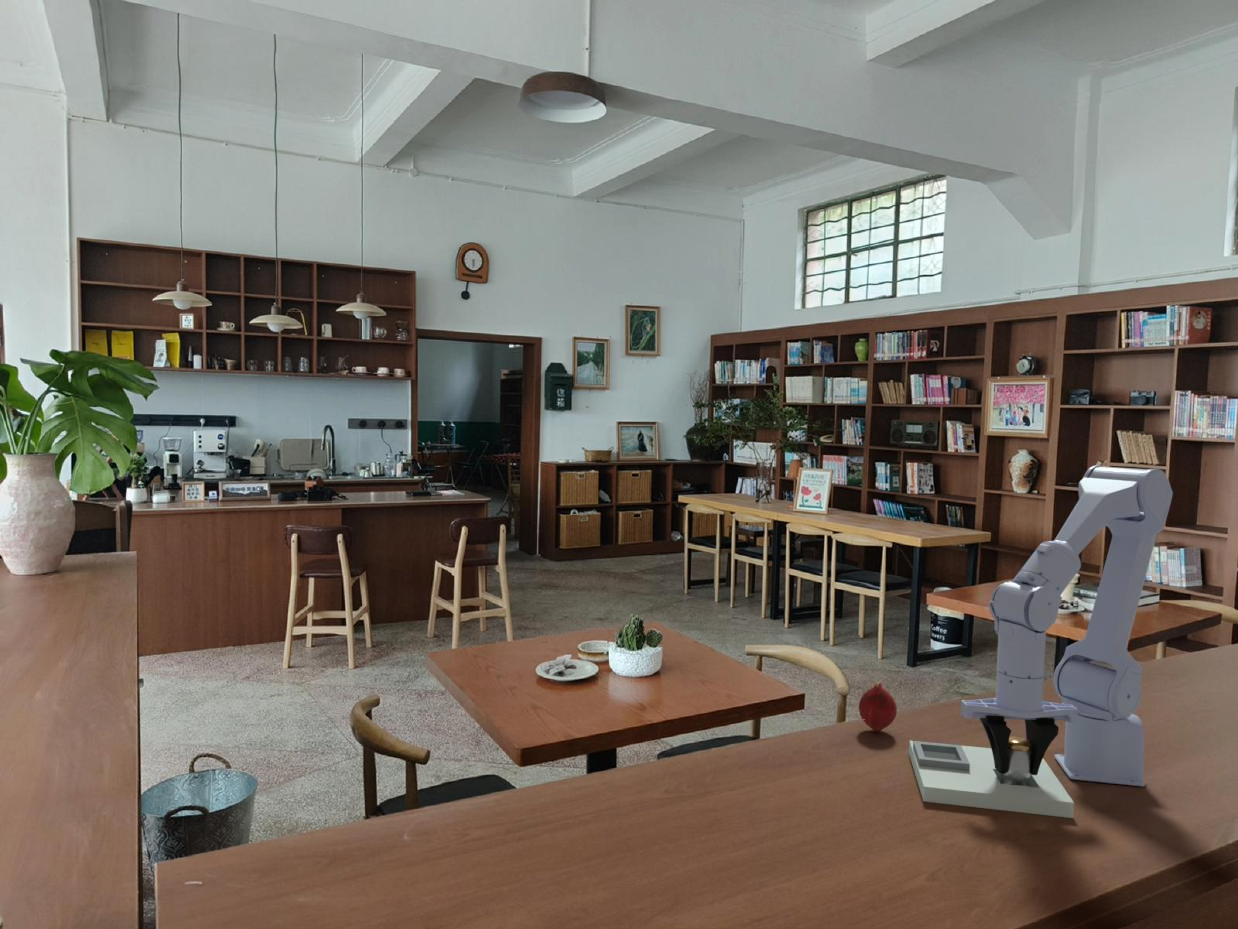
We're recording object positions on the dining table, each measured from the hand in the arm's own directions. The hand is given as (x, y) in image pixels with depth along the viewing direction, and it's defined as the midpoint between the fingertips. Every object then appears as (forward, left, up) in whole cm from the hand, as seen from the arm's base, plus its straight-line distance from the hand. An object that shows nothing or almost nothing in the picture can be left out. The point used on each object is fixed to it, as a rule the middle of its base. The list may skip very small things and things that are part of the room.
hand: (1015, 771), depth 112 cm
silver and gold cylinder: (0, 0, -3) cm, 3 cm away
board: (+3, -2, -3) cm, 5 cm away
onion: (+16, -18, -3) cm, 25 cm away
